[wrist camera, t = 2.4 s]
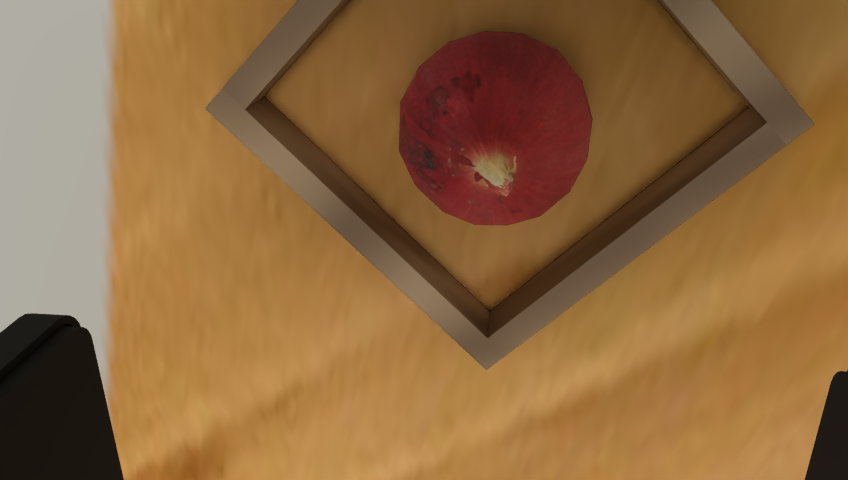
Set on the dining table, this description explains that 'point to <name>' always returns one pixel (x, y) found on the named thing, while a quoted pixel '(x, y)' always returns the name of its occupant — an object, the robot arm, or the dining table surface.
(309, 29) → the frame
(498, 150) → the onion
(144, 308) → the dining table surface
